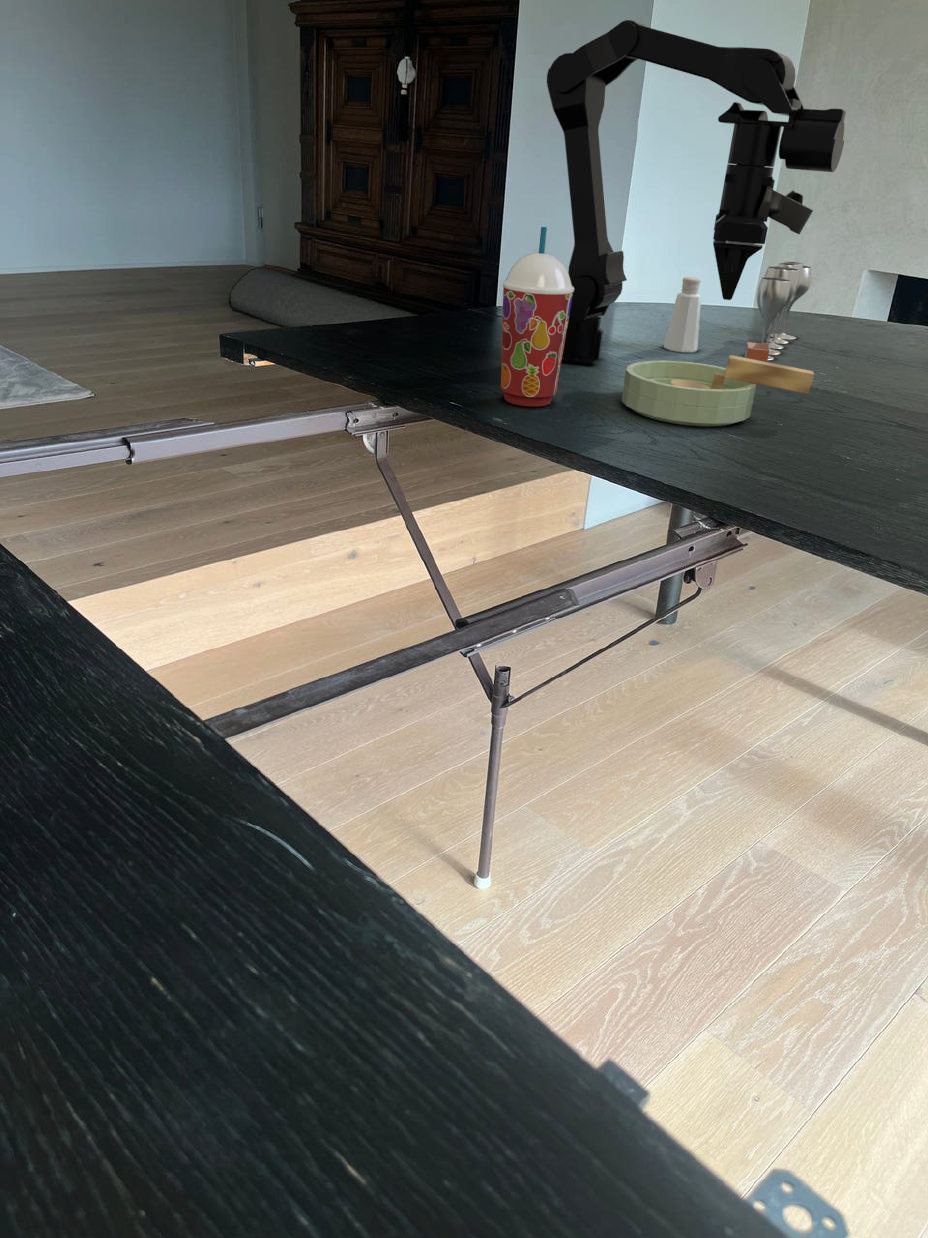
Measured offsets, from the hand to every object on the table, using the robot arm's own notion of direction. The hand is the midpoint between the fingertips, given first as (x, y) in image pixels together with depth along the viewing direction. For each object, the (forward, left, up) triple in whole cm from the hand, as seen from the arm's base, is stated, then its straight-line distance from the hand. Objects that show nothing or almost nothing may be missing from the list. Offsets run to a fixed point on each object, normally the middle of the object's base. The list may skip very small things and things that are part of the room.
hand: (726, 294), depth 128 cm
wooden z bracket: (+3, -17, -12) cm, 21 cm away
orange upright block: (+6, +10, -12) cm, 17 cm away
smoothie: (-22, -22, -12) cm, 33 cm away
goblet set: (+10, +36, -12) cm, 39 cm away
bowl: (-3, -17, -12) cm, 21 cm away
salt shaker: (-5, +24, -12) cm, 27 cm away
